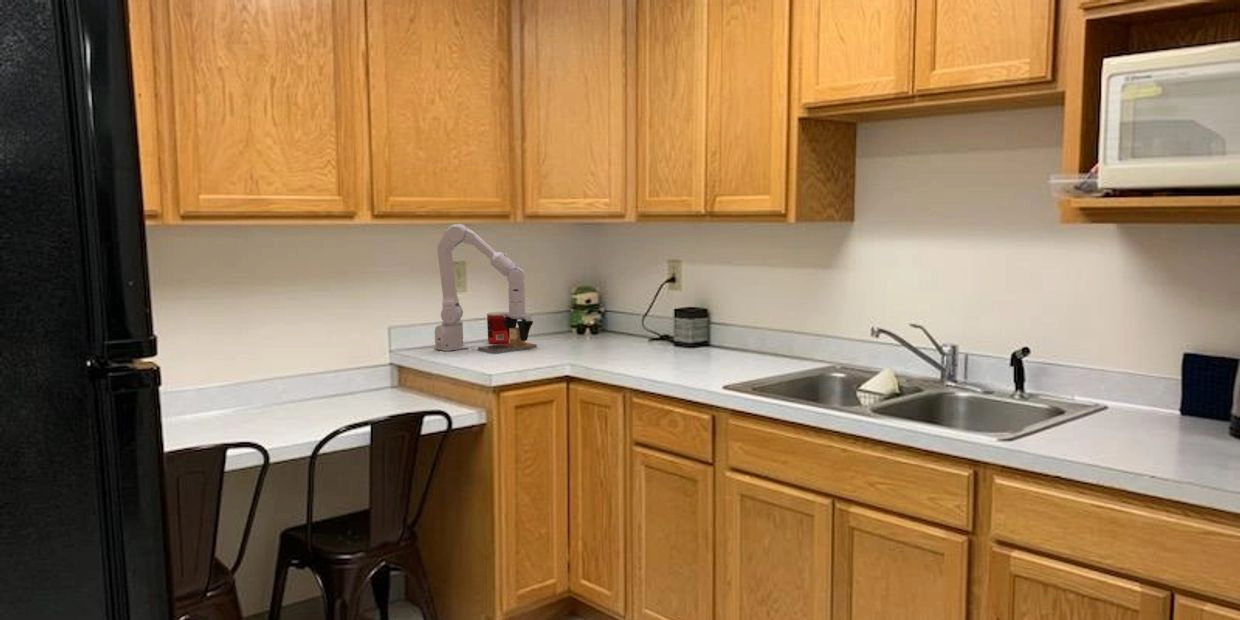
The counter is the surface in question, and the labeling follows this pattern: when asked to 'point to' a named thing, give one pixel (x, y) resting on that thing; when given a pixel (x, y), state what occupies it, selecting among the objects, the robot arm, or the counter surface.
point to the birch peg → (515, 337)
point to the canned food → (496, 328)
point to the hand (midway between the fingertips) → (517, 339)
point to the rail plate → (505, 348)
